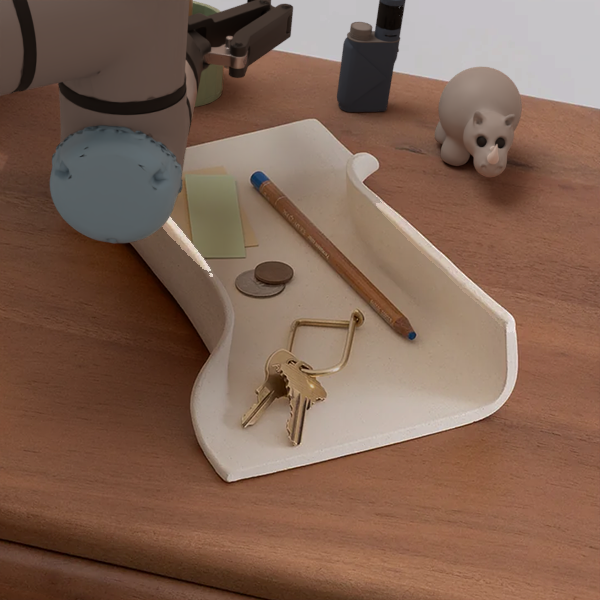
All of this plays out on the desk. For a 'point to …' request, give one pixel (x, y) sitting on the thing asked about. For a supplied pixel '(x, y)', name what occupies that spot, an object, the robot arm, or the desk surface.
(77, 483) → the desk surface
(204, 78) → the cup
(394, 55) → the vaping device
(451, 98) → the chubby cartoon animal
